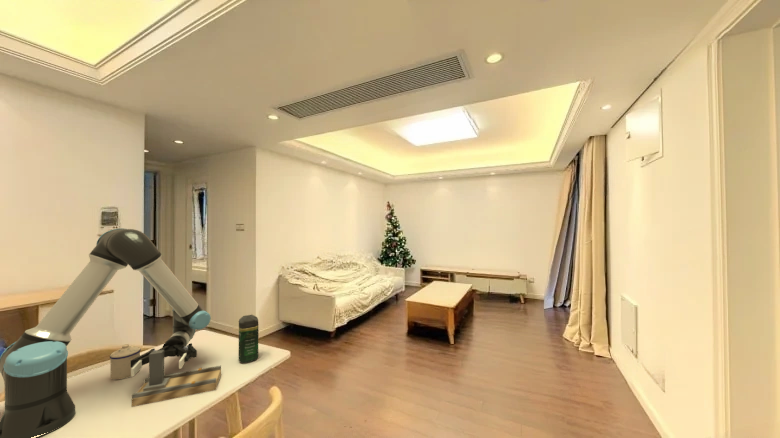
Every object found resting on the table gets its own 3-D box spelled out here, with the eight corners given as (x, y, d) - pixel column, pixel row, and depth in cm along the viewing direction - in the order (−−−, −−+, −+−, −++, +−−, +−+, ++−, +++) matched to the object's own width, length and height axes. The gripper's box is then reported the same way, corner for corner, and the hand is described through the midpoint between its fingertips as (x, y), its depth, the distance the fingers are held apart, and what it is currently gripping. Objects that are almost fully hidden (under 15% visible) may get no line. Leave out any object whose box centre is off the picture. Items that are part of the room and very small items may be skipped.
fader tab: (143, 391, 96) (143, 356, 96) (149, 383, 101) (149, 350, 101) (164, 387, 99) (164, 353, 99) (169, 380, 103) (169, 347, 103)
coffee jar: (259, 360, 123) (259, 318, 123) (239, 365, 119) (239, 321, 119) (256, 351, 131) (256, 312, 131) (237, 356, 127) (237, 315, 127)
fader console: (131, 406, 93) (131, 394, 93) (145, 388, 103) (145, 377, 103) (215, 389, 102) (215, 378, 102) (221, 374, 112) (221, 364, 112)
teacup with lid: (138, 375, 111) (138, 346, 111) (106, 383, 106) (106, 352, 106) (143, 363, 121) (143, 336, 121) (114, 369, 116) (114, 341, 116)
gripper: (210, 347, 123) (198, 371, 104) (138, 358, 114) (110, 387, 94) (210, 330, 123) (198, 351, 104) (138, 340, 114) (110, 365, 94)
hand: (156, 368), depth 99 cm, fingers open, 13 cm apart
